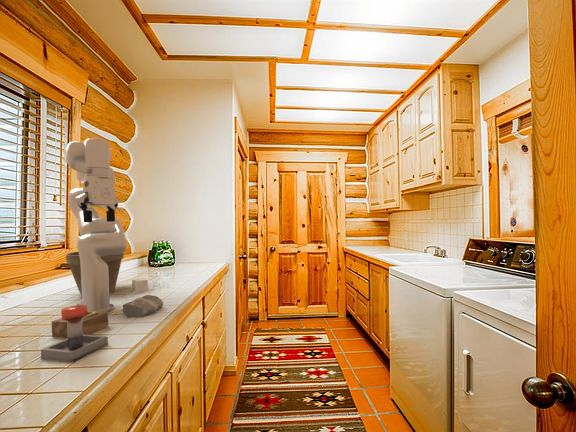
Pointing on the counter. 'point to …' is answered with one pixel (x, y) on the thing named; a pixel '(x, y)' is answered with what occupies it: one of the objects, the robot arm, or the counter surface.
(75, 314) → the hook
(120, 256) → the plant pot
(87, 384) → the counter surface
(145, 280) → the pale pink cube
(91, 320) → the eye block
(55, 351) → the tray
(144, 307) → the decorative stone
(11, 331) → the counter surface
